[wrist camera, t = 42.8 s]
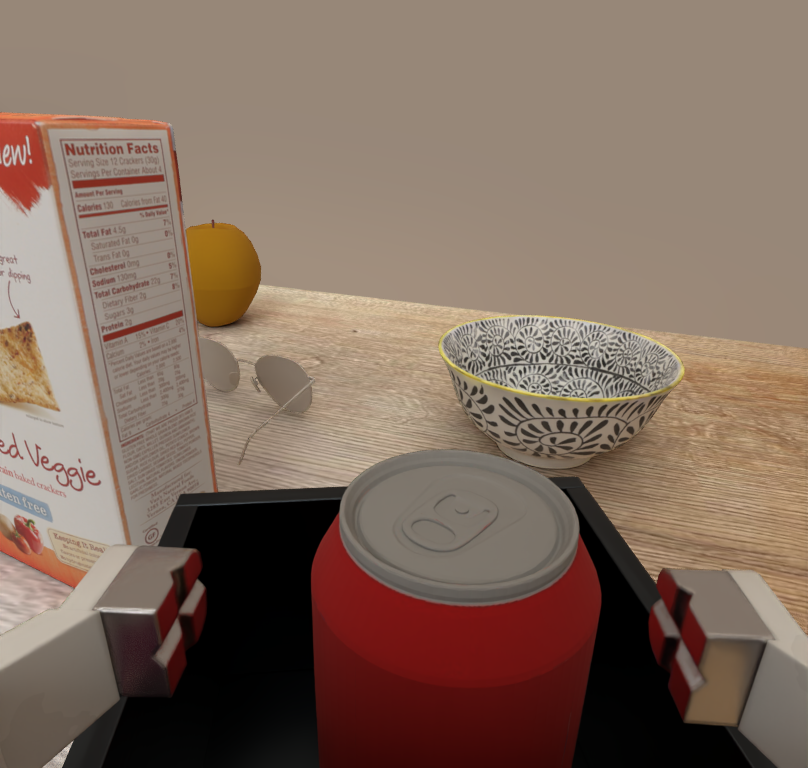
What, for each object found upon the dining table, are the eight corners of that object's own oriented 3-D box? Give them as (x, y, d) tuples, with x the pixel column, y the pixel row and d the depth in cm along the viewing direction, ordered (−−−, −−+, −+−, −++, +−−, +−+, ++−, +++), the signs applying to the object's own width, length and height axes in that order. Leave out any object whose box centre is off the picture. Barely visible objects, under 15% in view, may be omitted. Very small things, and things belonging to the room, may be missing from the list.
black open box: (792, 1202, 12) (947, 982, 9) (46, 1347, 11) (-103, 1145, 7) (551, 645, 26) (578, 475, 22) (206, 672, 24) (179, 492, 21)
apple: (263, 334, 65) (255, 225, 61) (171, 337, 63) (156, 226, 59) (265, 310, 74) (258, 214, 69) (185, 313, 72) (172, 214, 68)
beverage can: (587, 824, 18) (659, 498, 14) (465, 1066, 13) (514, 687, 9) (417, 700, 22) (429, 414, 18) (276, 853, 17) (241, 514, 13)
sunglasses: (323, 420, 46) (314, 363, 43) (248, 484, 39) (232, 423, 37) (198, 382, 52) (183, 331, 49) (116, 433, 46) (95, 377, 43)
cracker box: (-51, 539, 31) (-197, 108, 23) (55, 485, 36) (-36, 114, 28) (135, 633, 26) (27, 107, 18) (230, 554, 31) (179, 115, 23)
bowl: (712, 503, 36) (742, 390, 33) (458, 517, 34) (466, 399, 31) (601, 397, 51) (615, 313, 48) (419, 403, 49) (422, 316, 46)
